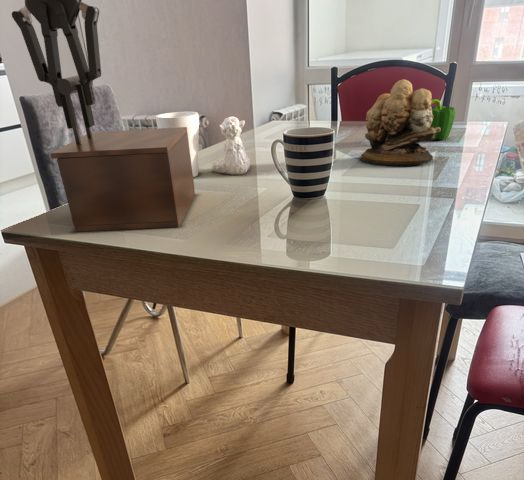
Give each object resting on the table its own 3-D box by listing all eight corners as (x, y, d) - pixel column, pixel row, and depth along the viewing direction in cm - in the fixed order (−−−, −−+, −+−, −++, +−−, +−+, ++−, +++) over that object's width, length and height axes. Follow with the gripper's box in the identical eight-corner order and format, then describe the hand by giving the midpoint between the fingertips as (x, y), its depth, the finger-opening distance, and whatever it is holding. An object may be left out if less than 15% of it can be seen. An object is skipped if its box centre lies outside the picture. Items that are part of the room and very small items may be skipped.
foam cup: (196, 180, 114) (189, 117, 107) (158, 180, 116) (148, 118, 109) (210, 170, 121) (203, 111, 114) (174, 170, 123) (165, 112, 117)
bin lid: (51, 158, 81) (31, 82, 75) (90, 136, 98) (77, 73, 92) (167, 152, 80) (156, 75, 74) (187, 131, 97) (179, 67, 91)
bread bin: (75, 231, 87) (56, 158, 81) (108, 199, 104) (94, 136, 98) (178, 227, 86) (167, 152, 80) (195, 195, 103) (187, 131, 97)
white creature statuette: (249, 165, 123) (245, 111, 117) (261, 172, 116) (258, 115, 110) (211, 170, 121) (206, 116, 115) (221, 178, 114) (216, 120, 108)
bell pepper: (449, 135, 142) (454, 96, 136) (454, 141, 135) (459, 99, 129) (418, 136, 143) (422, 97, 138) (421, 142, 136) (425, 101, 131)
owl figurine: (443, 157, 119) (454, 75, 110) (428, 169, 111) (438, 81, 102) (371, 153, 128) (375, 76, 119) (351, 163, 119) (354, 81, 110)
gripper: (101, -46, 78) (131, 121, 90) (3, -39, 79) (46, 125, 91) (85, -53, 71) (119, 127, 84) (-21, -45, 72) (28, 132, 85)
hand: (81, 126), depth 87 cm, fingers closed on bin lid, 2 cm apart
